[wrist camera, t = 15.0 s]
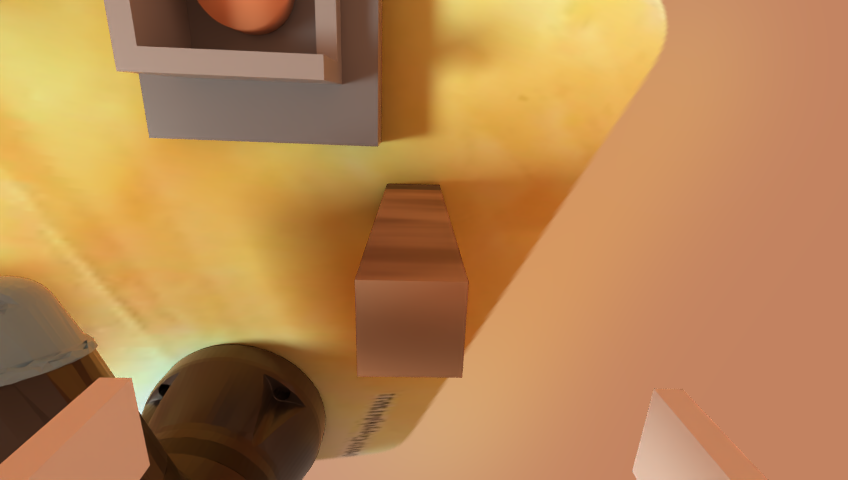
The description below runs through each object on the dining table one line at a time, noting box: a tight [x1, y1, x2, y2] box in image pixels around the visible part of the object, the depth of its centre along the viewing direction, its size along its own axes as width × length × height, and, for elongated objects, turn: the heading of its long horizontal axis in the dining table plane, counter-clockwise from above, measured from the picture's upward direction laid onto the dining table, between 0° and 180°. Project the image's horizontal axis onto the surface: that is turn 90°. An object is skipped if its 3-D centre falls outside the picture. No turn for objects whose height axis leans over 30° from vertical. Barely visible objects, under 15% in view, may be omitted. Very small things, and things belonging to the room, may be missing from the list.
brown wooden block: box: [355, 184, 469, 378], centre depth 24 cm, size 4×4×18 cm
